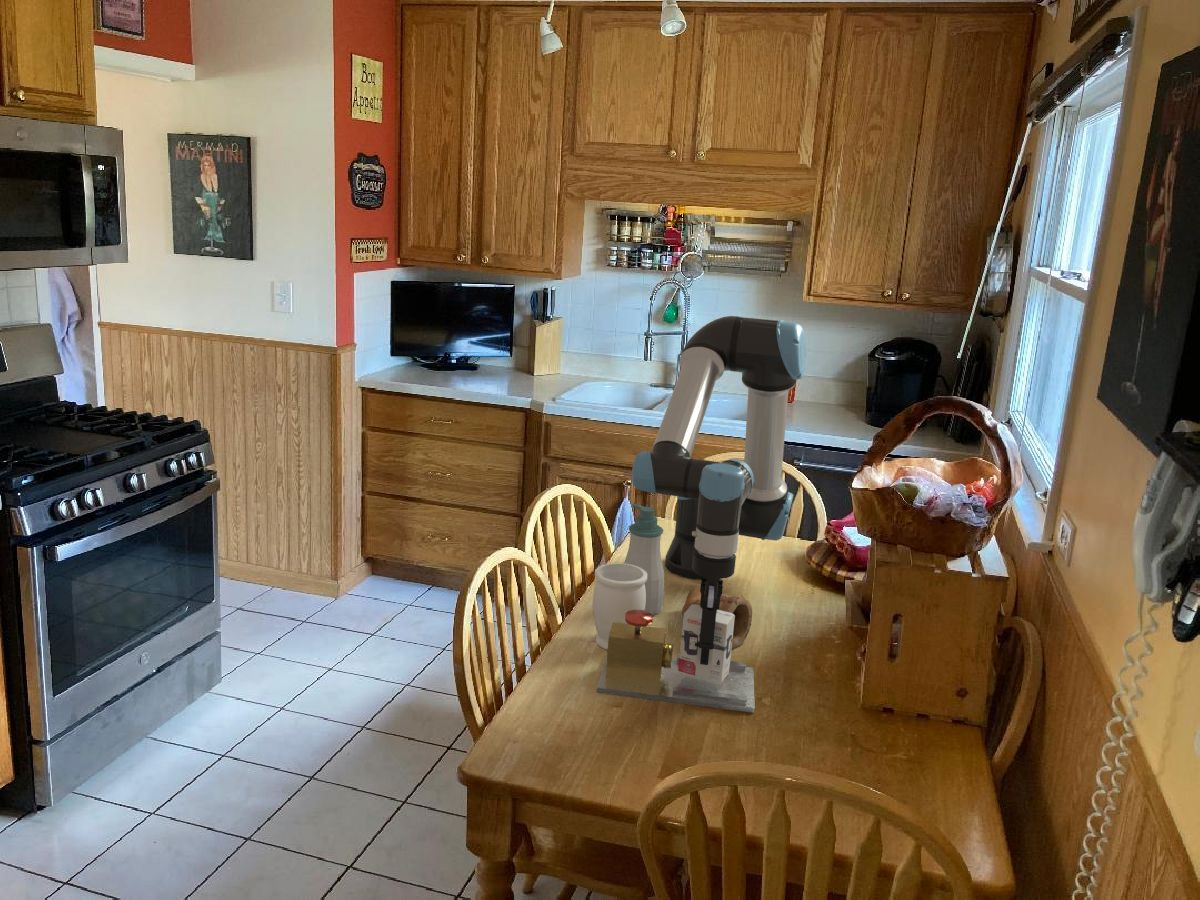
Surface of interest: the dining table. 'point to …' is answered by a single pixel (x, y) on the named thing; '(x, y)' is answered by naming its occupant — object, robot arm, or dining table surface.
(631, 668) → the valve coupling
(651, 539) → the soap bottle
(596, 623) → the jar
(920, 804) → the dining table surface
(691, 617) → the ink box
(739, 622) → the clay pipe
